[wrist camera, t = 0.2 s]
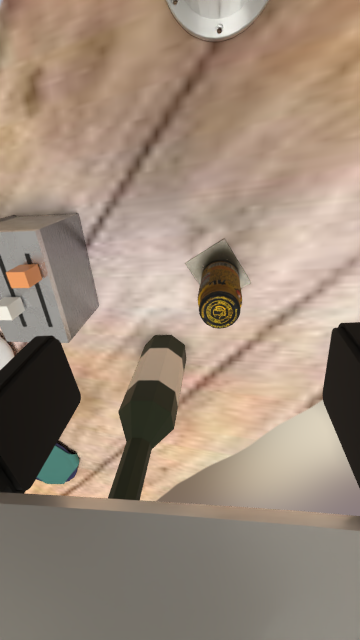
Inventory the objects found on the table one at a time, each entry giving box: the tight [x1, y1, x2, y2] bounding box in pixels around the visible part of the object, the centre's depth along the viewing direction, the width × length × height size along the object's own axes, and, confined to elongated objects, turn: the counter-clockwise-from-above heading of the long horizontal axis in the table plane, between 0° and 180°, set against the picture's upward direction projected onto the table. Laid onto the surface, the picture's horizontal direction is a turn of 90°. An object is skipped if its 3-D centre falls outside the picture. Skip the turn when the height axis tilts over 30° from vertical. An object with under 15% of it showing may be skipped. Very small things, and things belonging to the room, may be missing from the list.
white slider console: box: [0, 214, 99, 343], centre depth 44 cm, size 16×10×12 cm, turn 4°
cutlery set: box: [36, 443, 79, 484], centre depth 77 cm, size 20×30×2 cm, turn 57°
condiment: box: [185, 239, 251, 328], centre depth 41 cm, size 7×8×12 cm
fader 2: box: [0, 297, 25, 320], centre depth 38 cm, size 2×2×3 cm
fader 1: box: [6, 264, 42, 288], centre depth 35 cm, size 2×2×3 cm
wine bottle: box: [108, 335, 186, 500], centre depth 42 cm, size 8×8×30 cm
